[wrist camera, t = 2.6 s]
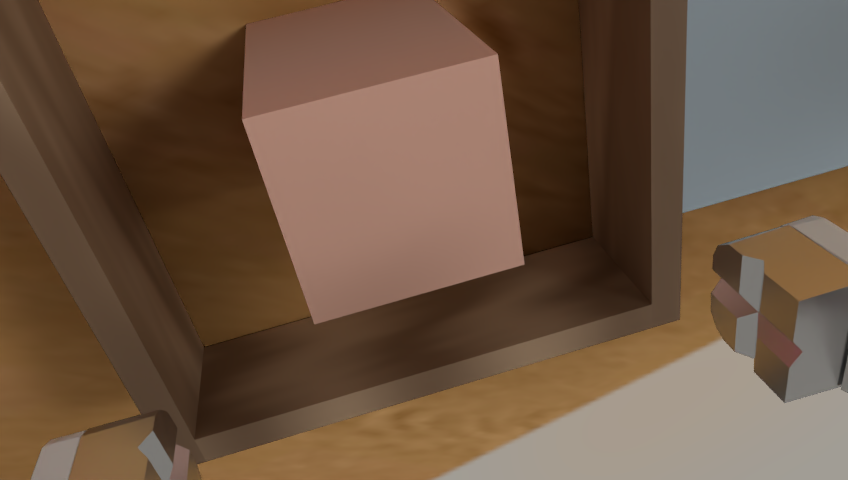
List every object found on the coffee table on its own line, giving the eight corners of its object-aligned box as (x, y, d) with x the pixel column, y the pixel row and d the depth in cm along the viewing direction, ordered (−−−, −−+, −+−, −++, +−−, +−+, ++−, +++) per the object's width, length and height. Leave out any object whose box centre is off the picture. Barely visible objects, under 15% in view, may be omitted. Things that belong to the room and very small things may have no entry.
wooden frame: (596, -343, 17) (697, -400, 13) (618, 251, 26) (679, 319, 22) (-108, -199, 15) (-228, -216, 11) (186, 375, 25) (174, 470, 21)
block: (414, -17, 20) (497, 54, 13) (442, 138, 22) (524, 264, 16) (246, 24, 19) (241, 119, 12) (295, 177, 22) (314, 324, 15)
